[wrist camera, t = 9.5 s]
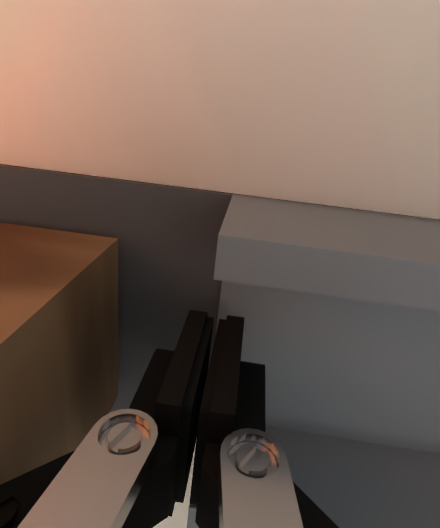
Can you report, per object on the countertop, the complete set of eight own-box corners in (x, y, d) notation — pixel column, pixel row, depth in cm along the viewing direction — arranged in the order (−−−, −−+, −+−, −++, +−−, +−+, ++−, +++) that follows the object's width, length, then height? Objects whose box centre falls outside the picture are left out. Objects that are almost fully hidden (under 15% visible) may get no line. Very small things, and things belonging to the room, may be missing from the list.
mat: (233, 193, 11) (232, 195, 11) (205, 426, 15) (204, 432, 15) (-53, 157, 12) (-61, 158, 12) (-14, 390, 15) (-19, 395, 15)
